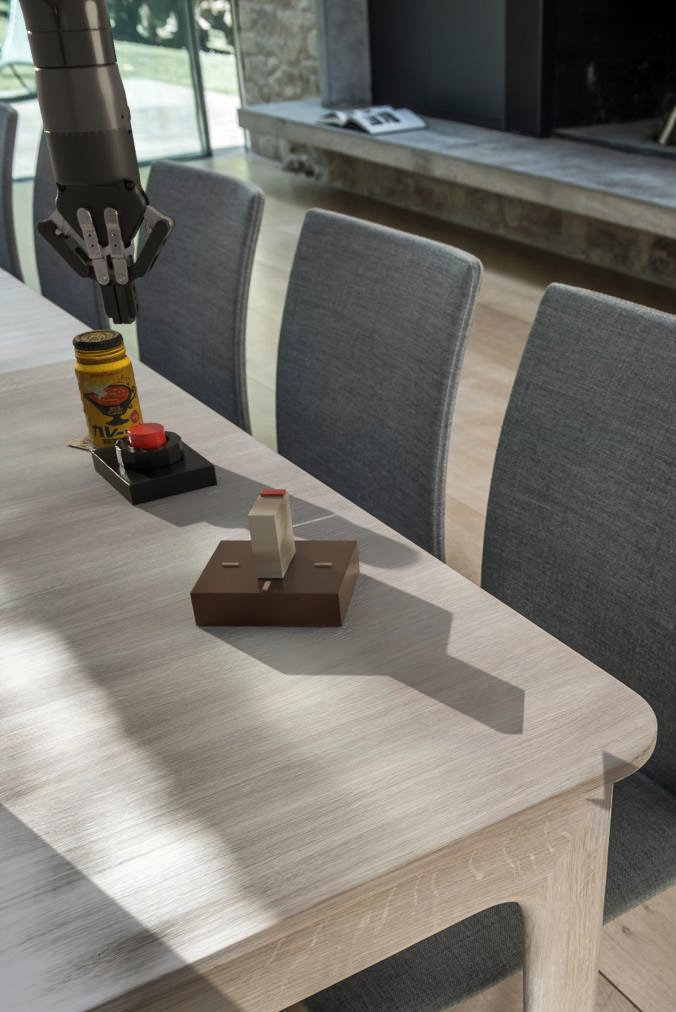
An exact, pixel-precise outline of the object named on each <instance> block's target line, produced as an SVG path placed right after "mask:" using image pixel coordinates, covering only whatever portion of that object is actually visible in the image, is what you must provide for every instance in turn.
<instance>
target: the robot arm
mask: <svg viewBox="0 0 676 1012" xmlns="http://www.w3.org/2000/svg"><path fill="white" fill-rule="evenodd" d="M17 1H18V3H19V6H20V10H21V14H22V17H23V21H24V25H25V26H24V27H25V31H26V35H27V41H28V45H29V50H30V54H31V59H32V64H33V66H34V68H33V69H34V74H35V83H36V86H35V87H36V96H37V102H38V107H39V111H40V115H41V121H42V126H43V129H44V130H43V131H44V136H45V140H46V144H47V149H48V155H49V159H50V163H51V169H52V173H53V177H54V182H55V184H56V188H57V189H56V190H57V192H56V197H55V201H54V204H55V205H54V206H55V210H54V211H53V213H51V214H50V216H48V217H47V218H46V219H44V220H42V221H41V222H38V224H37V226H36V228H37V232H38V233H39V235H41V236H42V237H43V239H44V240H45V241H46V242H47V243H48V244H49V245H50V246H51V248H53V250H54V251H56V253H57V254H58V255H59V256H60V257H61V258H62V259H63V260H64V261H65V262H66V264H67V265H68V266H69V267H70V268H71V269H72V270H73V271H74V272H75V273H76V274H77V275H78V277H80V278H82V279H86V278H88V279H90V280H93V281H95V282H96V283H97V284H98V285H99V287H100V292H101V297H102V301H103V306H104V311H105V314H106V316H107V318H108V319H112V323H113V325H132V324H133V323H134V322H136V319H137V316H139V315H140V312H141V306H140V300H139V294H138V290H137V289H138V288H137V284H136V281H137V279H139V278H143V277H145V276H146V275H147V273H150V272H151V271H152V270H153V269H154V267H155V265H156V262H157V261H158V259H159V257H160V255H161V253H162V252H163V249H164V248H165V246H166V244H167V242H168V240H169V238H170V236H171V235H172V232H173V231H174V229H175V227H176V220H175V218H174V217H173V216H171V215H169V214H168V215H167V214H166V215H164V214H162V213H161V212H160V211H158V210H157V209H155V208H154V207H153V206H151V202H150V198H149V196H148V194H147V193H146V192H145V190H144V188H143V186H142V182H141V174H140V173H141V172H140V167H139V162H138V156H137V151H136V144H135V139H134V134H133V133H134V132H133V128H132V121H131V120H132V115H131V109H130V106H129V105H128V99H127V93H126V89H125V85H124V83H123V80H122V77H121V72H120V68H119V64H118V63H117V62H118V58H117V52H116V48H115V41H114V36H113V35H114V34H113V29H112V22H111V17H110V13H109V12H110V11H109V8H108V4H107V0H17ZM144 220H145V226H144V229H145V232H146V234H147V236H148V237H147V239H146V241H145V243H144V245H143V247H142V249H141V251H140V253H139V255H138V256H137V259H136V261H135V250H136V248H135V238H136V236H137V234H138V232H139V231H140V229H141V226H142V224H143V222H144ZM71 228H72V229H73V231H74V232H75V233H76V234H77V236H79V237H80V239H81V240H82V241H84V244H85V246H86V247H85V248H86V249H85V248H84V247H83V246H82V245H81V244H80V243H79V242H78V240H77V239H76V238H75V237H74V236H73V235H72V234H71Z"/></svg>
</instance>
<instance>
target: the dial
mask: <svg viewBox="0 0 676 1012" xmlns="http://www.w3.org/2000/svg"><path fill="white" fill-rule="evenodd" d="M291 511H292V510H291V503H290V495H289V491H288V490H286V488H281V489H280V488H262V490H261V492H260V493H259V495H258V497H257V499H256V500H255V502H254V504H253V505H252V507H251V509H250V510H249V512H248V514H247V522H248V523H247V524H248V529H249V535H250V540H251V543H252V550H253V556H254V563H255V570H256V577H257V578H283V577H284V575H285V573H286V571H287V569H288V567H289V565H290V563H291V560H292V558H293V556H294V554H295V552H296V550H295V542H294V540H295V535H294V528H293V527H294V526H293V519H292V518H293V517H292V512H291Z"/></svg>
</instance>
